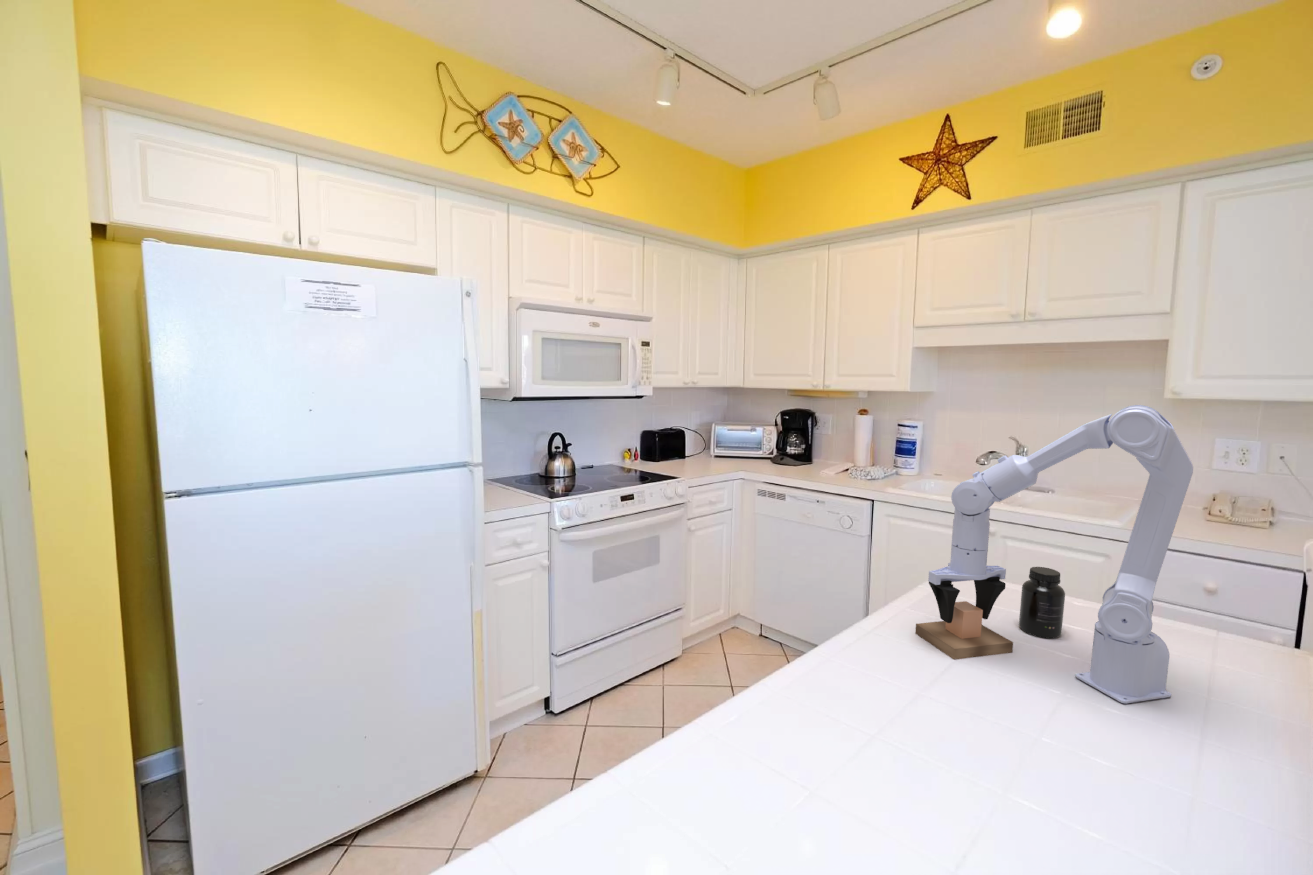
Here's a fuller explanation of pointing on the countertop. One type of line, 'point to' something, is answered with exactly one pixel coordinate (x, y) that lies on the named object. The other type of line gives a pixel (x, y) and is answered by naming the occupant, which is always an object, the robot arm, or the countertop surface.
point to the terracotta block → (966, 620)
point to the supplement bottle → (1042, 603)
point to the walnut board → (963, 641)
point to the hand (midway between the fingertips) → (964, 618)
